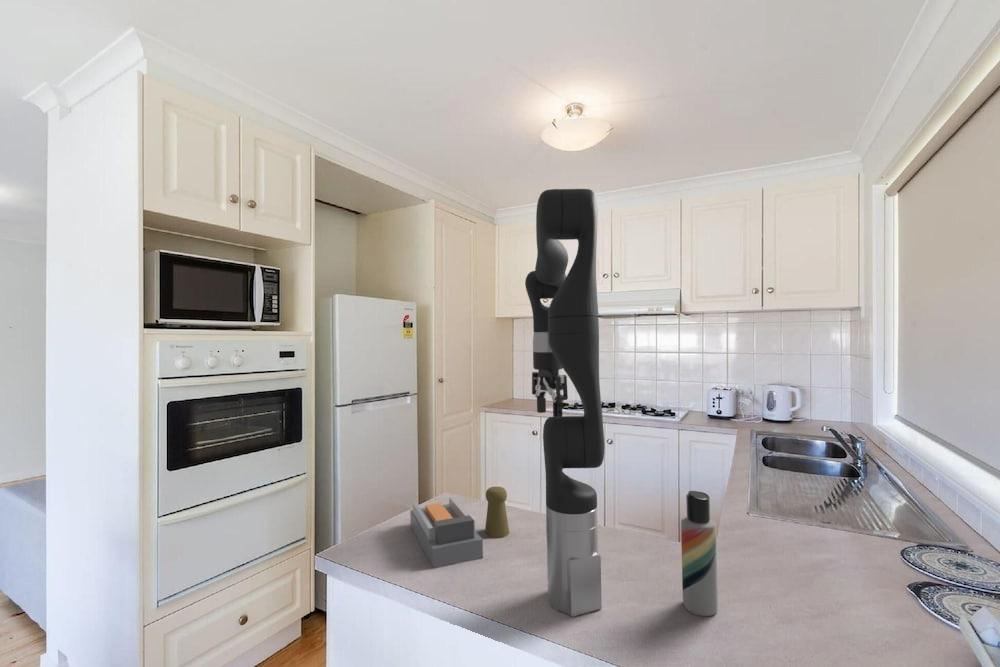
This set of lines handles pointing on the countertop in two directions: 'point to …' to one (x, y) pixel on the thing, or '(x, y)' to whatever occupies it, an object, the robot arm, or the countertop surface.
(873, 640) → the countertop surface
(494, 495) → the olive pawn figure
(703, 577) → the lotion bottle
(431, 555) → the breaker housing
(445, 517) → the lever
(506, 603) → the countertop surface
